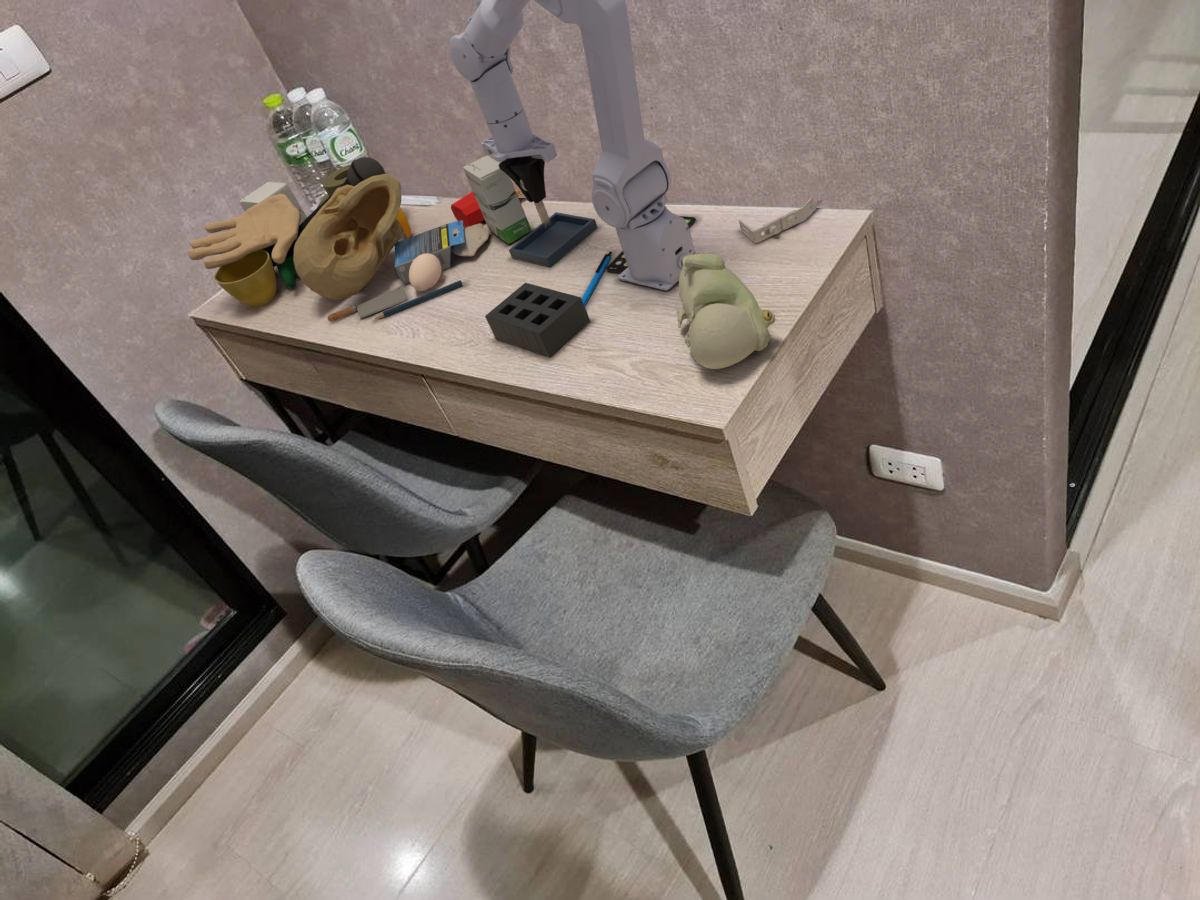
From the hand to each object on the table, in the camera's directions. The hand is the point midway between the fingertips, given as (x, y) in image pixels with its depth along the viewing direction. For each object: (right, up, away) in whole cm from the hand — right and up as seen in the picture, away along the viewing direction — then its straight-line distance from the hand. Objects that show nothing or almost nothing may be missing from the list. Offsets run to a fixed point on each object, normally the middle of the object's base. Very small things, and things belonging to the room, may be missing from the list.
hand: (537, 199), depth 130 cm
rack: (+2, -22, -12) cm, 25 cm away
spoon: (+1, -3, +3) cm, 5 cm away
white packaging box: (-49, +1, +36) cm, 61 cm away
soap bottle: (-42, +8, +36) cm, 56 cm away
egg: (-17, -7, +8) cm, 20 cm away
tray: (+2, -5, +5) cm, 8 cm away
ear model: (-26, 0, +2) cm, 26 cm away
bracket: (+44, -2, -12) cm, 45 cm away
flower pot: (-51, -11, +24) cm, 58 cm away
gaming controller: (-43, -7, +25) cm, 50 cm away
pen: (+8, -16, -9) cm, 20 cm away
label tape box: (-24, -7, +12) cm, 28 cm away
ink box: (-5, -2, +13) cm, 14 cm away
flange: (-31, +7, +20) cm, 37 cm away
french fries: (-15, +2, +19) cm, 24 cm away
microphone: (-44, 0, +23) cm, 50 cm away
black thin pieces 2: (-58, -5, +24) cm, 63 cm away
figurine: (+19, -22, -29) cm, 42 cm away
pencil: (-12, -12, +4) cm, 17 cm away
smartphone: (+17, -8, -4) cm, 20 cm away
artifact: (-13, 0, +16) cm, 20 cm away
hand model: (-44, +5, +21) cm, 49 cm away
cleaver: (-27, -17, +6) cm, 33 cm away
